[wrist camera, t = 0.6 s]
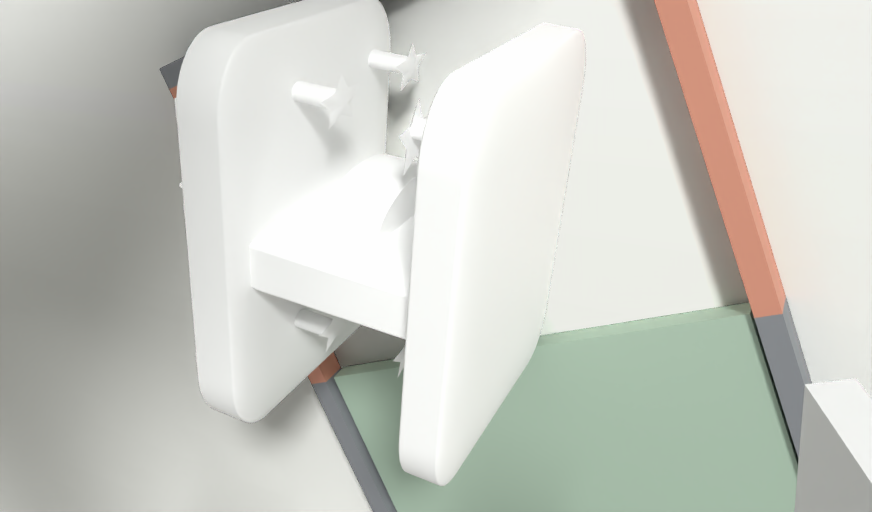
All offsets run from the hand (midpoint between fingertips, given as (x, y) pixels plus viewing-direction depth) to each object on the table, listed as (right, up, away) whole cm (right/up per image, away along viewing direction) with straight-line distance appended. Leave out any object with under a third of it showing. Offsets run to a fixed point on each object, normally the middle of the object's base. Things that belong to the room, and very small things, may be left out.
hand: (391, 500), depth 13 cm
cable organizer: (+2, +7, +22) cm, 23 cm away
